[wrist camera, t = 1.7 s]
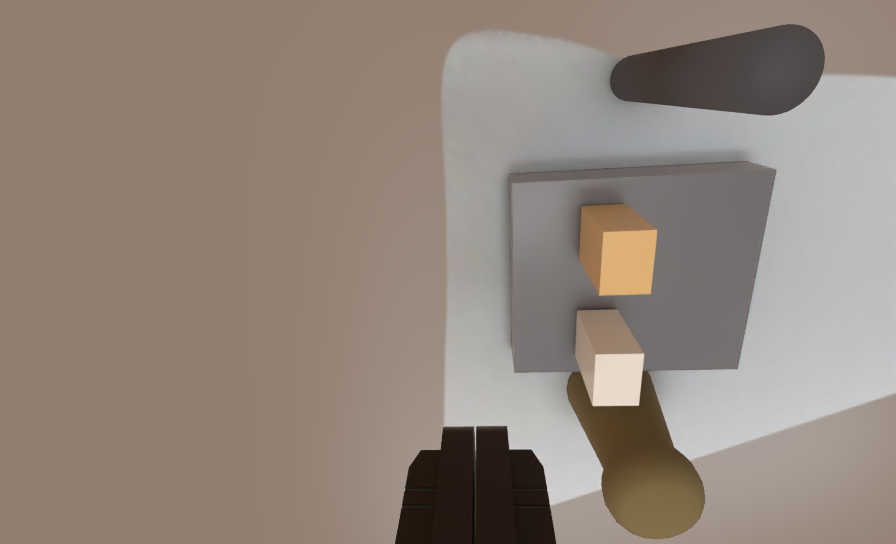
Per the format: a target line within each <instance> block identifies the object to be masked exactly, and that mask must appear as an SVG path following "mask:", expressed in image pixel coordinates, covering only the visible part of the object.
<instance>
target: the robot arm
mask: <svg viewBox="0 0 896 544" xmlns="http://www.w3.org/2000/svg"><path fill="white" fill-rule="evenodd" d="M395 544H556V539H555V533H554V527H553V521H552V516H551V510H550V503H549V497H548V492H547V485H546V480H545V474H544V468H543V466H542V464H541V463H540V461H539V460H538V459H537V457H536V456H535V454H534V453H533V451H532V450H509V443H508V431H507V426H477V427H476V452H475V433H474V427H443V433H442V442H441V450H421V451H420V452H419V454H418V455H417V457H416V458H415V460H414V461H413V462H412V464H411V465H410V467H409V470H408V476H407V482H406V486H405V492H404V497H403V503H402V509H401V514H400V519H399V525H398V530H397V536H396V541H395Z"/></svg>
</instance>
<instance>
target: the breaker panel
mask: <svg viewBox="0 0 896 544" xmlns="http://www.w3.org/2000/svg"><path fill="white" fill-rule="evenodd" d="M775 175H776V170H775V169H772V168H768V167H765V166H761V165H758V164H754V163H751V162H747V161H743V162H724V163H705V164H686V165H667V166H648V167H629V168H610V169H591V170H572V171H553V172H534V173H515V174H509V198H510V262H511V326H512V354H513V363H514V372H515V373H524V372H581V371H580V369H579V366H578V363H577V360H576V357H575V345H576V322H577V310H612V309H618V311H619V313H620V314H621V316H622V318H623V319H624V321H625V323H626V324H627V326H628V328H629V329H630V331H631V332H632V334H633V336H634V337H635V339H636V341H637V342H638V344H639V346H640V347H641V349H642V351H643V352H644V362H643V371H648V370H710V369H738V365H739V359H740V354H741V349H742V344H743V339H744V334H745V329H746V324H747V318H748V313H749V308H750V303H751V298H752V293H753V288H754V282H755V277H756V272H757V267H758V262H759V257H760V252H761V247H762V241H763V236H764V231H765V226H766V221H767V216H768V211H769V206H770V200H771V195H772V190H773V185H774V180H775ZM611 204H627V205H628V206H629V207H630V208H631V209H633V210H634V211H635V212H636V213H638V214H639V215H640V216H641V217H642V218H644V219H645V220H646V221H647V222H649V223H650V224H651V225H652V226H653V227H655V228H656V229H657V239H656V249H655V258H654V268H653V277H652V286H651V294H636V295H603V296H599V294H598V292H597V291H596V289H595V287H594V285H593V283H592V282H591V280H590V278H589V276H588V275H587V273H586V271H585V269H584V267H583V266H582V264H581V262H580V260H579V251H580V228H581V206H589V205H611Z"/></svg>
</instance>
